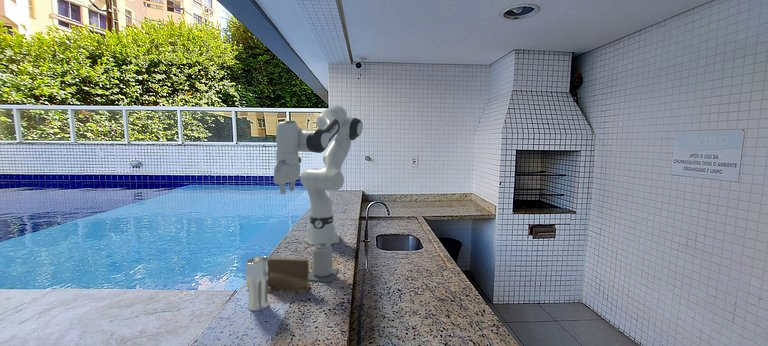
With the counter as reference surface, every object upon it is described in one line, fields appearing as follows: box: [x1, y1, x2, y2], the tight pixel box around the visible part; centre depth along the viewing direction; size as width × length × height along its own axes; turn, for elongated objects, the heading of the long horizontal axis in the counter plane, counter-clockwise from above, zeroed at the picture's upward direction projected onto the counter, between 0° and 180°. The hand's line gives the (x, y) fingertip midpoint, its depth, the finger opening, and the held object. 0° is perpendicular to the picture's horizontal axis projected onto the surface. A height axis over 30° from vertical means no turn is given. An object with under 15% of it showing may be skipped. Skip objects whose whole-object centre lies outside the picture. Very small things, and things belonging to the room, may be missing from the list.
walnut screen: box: [267, 257, 311, 295], centre depth 109 cm, size 6×14×11 cm, turn 86°
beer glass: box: [245, 255, 270, 312], centre depth 97 cm, size 7×7×15 cm
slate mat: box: [308, 268, 339, 283], centre depth 122 cm, size 11×10×1 cm
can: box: [312, 243, 333, 277], centre depth 121 cm, size 8×8×12 cm
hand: (287, 192), depth 130 cm, fingers open, 8 cm apart
